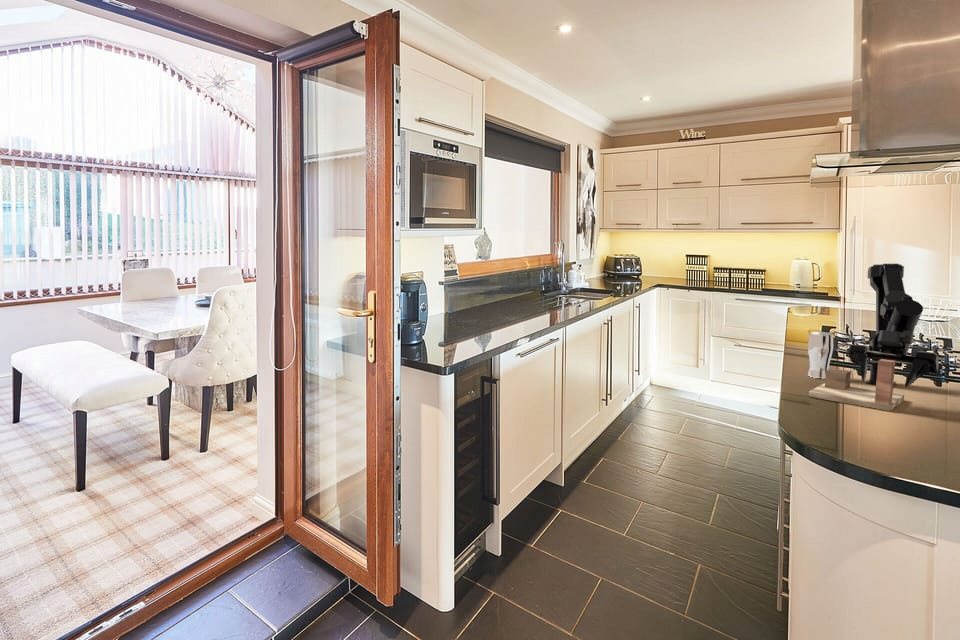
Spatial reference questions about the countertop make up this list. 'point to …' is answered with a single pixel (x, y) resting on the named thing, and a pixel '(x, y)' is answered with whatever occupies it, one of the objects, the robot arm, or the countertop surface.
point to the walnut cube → (837, 379)
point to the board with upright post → (866, 391)
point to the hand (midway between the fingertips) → (883, 383)
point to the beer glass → (819, 353)
